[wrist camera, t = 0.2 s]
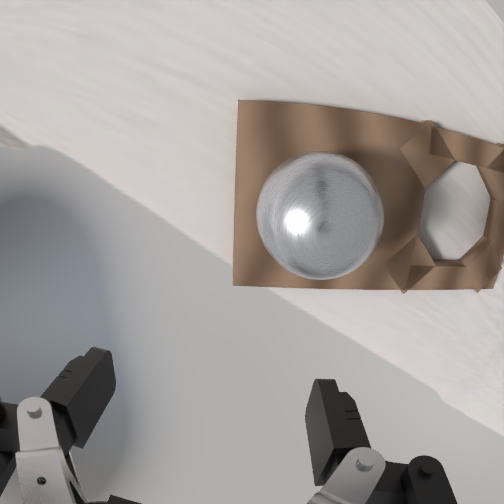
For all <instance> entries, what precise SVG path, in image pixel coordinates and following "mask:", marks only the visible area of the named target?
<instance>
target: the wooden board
mask: <svg viewBox="0 0 504 504" xmlns="http://www.w3.org/2000/svg"><path fill="white" fill-rule="evenodd" d="M308 151H330V152H335V153H339V154H342V155H344V156H346V157H348V158H350V159H352V160H354V161H355V162H357V163H358V164H360V165H361V166H362V167H363V168H364V169H365V170H366V171H367V172H368V173H369V175H370V176H371V177H372V178H373V180H374V182H375V183H376V185H377V187H378V189H379V191H380V194H381V197H382V201H383V206H384V227H383V231H382V235H381V238H380V240H379V243H378V245H377V247H376V249H375V250H374V252H373V253H372V255H371V256H370V257H369V258H368V259H367V261H366V262H364V263H363V264H362V265H361V266H360V267H358V268H357V269H356V270H354V271H352V272H351V273H349V274H346V275H344V276H341V277H338V278H334V279H326V280H317V279H309V278H304V277H301V276H298V275H296V274H294V273H292V272H290V271H288V270H286V269H285V268H284V267H282V266H281V265H280V264H279V263H277V262H276V261H275V260H274V259H273V257H272V256H271V255H270V254H269V252H268V251H267V249H266V248H265V246H264V244H263V242H262V240H261V238H260V234H259V231H258V227H257V220H256V209H257V202H258V198H259V194H260V192H261V189H262V187H263V185H264V183H265V181H266V179H267V178H268V177H269V175H270V174H271V173H272V171H273V170H274V169H275V168H276V167H277V166H279V165H280V164H281V163H283V162H284V161H285V160H287V159H289V158H291V157H293V156H295V155H298V154H300V153H304V152H308ZM455 160H456V161H460V162H464V163H468V164H472V165H476V166H477V168H478V170H479V172H480V175H481V177H482V179H483V181H484V183H485V186H486V188H487V190H488V192H489V195H490V197H491V201H490V207H489V212H488V217H487V222H486V227H485V231H484V236H483V237H482V238H481V239H480V240H479V241H478V242H477V243H476V244H475V245H474V246H473V247H472V248H471V249H470V250H469V251H468V252H467V253H466V254H465V255H464V256H463V257H462V258H460V259H459V260H458V261H455V260H433V259H432V258H431V256H430V255H429V253H428V251H427V249H426V248H425V246H424V244H423V243H422V241H421V239H420V238H419V236H418V229H419V223H420V218H421V212H422V206H423V200H424V193H425V188H426V187H427V186H428V185H429V184H430V183H432V182H433V181H434V180H435V179H436V178H437V177H438V176H439V175H440V174H441V173H442V172H443V171H444V170H445V169H447V168H448V167H449V166H450V165H451V164H452V163H453V162H454V161H455ZM503 254H504V144H500V143H497V144H496V145H495V144H492V143H489V142H486V141H483V140H480V139H477V138H473V137H470V136H467V135H464V134H460V133H457V132H453V131H450V130H446V129H442V128H439V127H436V126H435V125H434V123H433V122H432V121H421V122H420V123H419V122H414V121H410V120H405V119H401V118H396V117H391V116H386V115H380V114H375V113H369V112H363V111H357V110H350V109H343V108H336V107H328V106H320V105H310V104H300V103H288V102H273V101H254V100H238V120H237V146H236V175H235V209H234V249H233V285H234V286H258V287H282V288H314V289H363V290H401V292H402V293H403V294H404V293H405V292H407V291H408V290H456V289H474V290H475V291H476V292H477V293H478V292H479V291H480V290H481V289H493V287H494V284H495V281H496V278H497V275H498V272H499V271H500V270H501V269H502V267H501V261H502V258H503Z"/></svg>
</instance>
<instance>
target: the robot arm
mask: <svg viewBox="0 0 504 504" xmlns="http://www.w3.org/2000/svg"><path fill="white" fill-rule="evenodd" d="M115 387H116V379H115V373H114V366H113V360H112V354H111V352H110V351H108V350H104V349H99V348H96V347H92V348H91V349H90V350H89V351H88V352H87V353H86V355H85V356H84V357H83V356H79V357H77V358H75V359H73V360H71V361H70V362H69V363H68V364H67V366H66V367H65V368H64V370H63V371H62V372H61V373H60V374H59V376H58V377H56V379H55V380H54V381H53V382H52V383H51V385H50V386H49V387H48V388H47V390H46V391H45V392H44V393H43V394H42V396H41V397H30V398H27V399H25V400H23V401H22V402H21V403H20V404H19V405H16V404H10V403H3V402H2V400H1V398H0V496H1V494H2V492H3V490H4V488H5V487H6V485H7V483H8V480H9V479H10V477H11V476H12V474H13V472H14V470H15V468H16V467H17V471H18V478H19V483H20V489H21V493H22V499H23V503H24V504H141V503H137V502H133V501H130V500H126V499H123V498H120V497H116V496H113V495H110V497H109V500H108V502H105V501H96V502H88V500H87V498H86V497H85V495H84V492H83V490H82V487H81V485H80V481H79V478H78V476H77V472H76V469H75V467H74V463H73V460H72V456H71V453H70V449H71V447H72V445H74V446H77V447H79V448H83V447H84V445H85V443H86V442H87V440H88V438H89V436H90V435H91V433H92V431H93V429H94V427H95V426H96V424H97V422H98V420H99V419H100V417H101V415H102V413H103V411H104V410H105V408H106V406H107V404H108V403H109V401H110V399H111V397H112V396H113V394H114V391H115ZM305 421H306V428H307V434H308V441H309V448H310V454H311V461H312V468H313V475H314V483H315V486H323V487H322V488H321V490H320V491H319V492H318V493H316V494H315V495H314V496H313V497H312V498H311V499H310V500H309V501H308V503H307V504H457V501H456V499H455V496H454V494H453V491H452V488H451V486H450V484H449V481H448V478H447V476H446V474H445V471H444V469H443V466H442V465H441V463H440V462H439V461H438V460H437V459H435V458H433V457H430V456H418V457H415V458H414V459H412V460H411V462H410V463H409V464H401V463H393V462H388V461H385V459H384V458H383V456H382V455H381V454H380V453H379V452H378V451H376V450H374V449H371V446H370V443H369V440H368V437H367V434H366V431H365V429H364V426H363V423H362V420H361V417H360V414H359V412H358V409H357V406H356V403H355V400H354V399H353V398H352V397H351V396H350V395H349V394H348V393H347V392H339V390H338V387H337V384H336V381H335V380H334V379H315V381H314V383H313V387H312V390H311V394H310V397H309V401H308V404H307V407H306V414H305Z"/></svg>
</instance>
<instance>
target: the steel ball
mask: <svg viewBox="0 0 504 504" xmlns="http://www.w3.org/2000/svg"><path fill="white" fill-rule="evenodd" d="M256 220H257V227H258V231H259V234H260V238H261V240H262V242H263V244H264V246H265V248H266V249H267V251H268V252H269V254H270V255H271V256H272V257H273V259H274V260H275V261H276V262H277V263H279V264H280V265H281V266H282V267H284V268H285V269H286V270H288V271H290V272H292V273H294V274H296V275H298V276H301V277H304V278H309V279H317V280H326V279H334V278H338V277H341V276H344V275H346V274H349V273H351V272H352V271H354V270H356V269H357V268H358V267H360V266H361V265H362V264H363V263H364V262H366V261H367V259H368V258H369V257H370V256H371V255H372V253H373V252H374V250H375V249H376V247H377V245H378V243H379V240H380V238H381V235H382V231H383V227H384V206H383V201H382V197H381V194H380V191H379V189H378V187H377V185H376V183H375V182H374V180H373V178H372V177H371V176H370V175H369V173H368V172H367V171H366V170H365V169H364V168H363V167H362V166H361V165H360V164H358V163H357V162H355V161H354V160H352V159H350V158H348V157H346V156H344V155H342V154H339V153H335V152H330V151H308V152H304V153H300V154H298V155H295V156H293V157H291V158H289V159H287V160H285V161H284V162H283V163H281V164H280V165H279V166H277V167H276V168H275V169H274V170H273V171H272V173H271V174H270V175H269V177H268V178H267V179H266V181H265V183H264V185H263V187H262V189H261V192H260V194H259V198H258V202H257V209H256Z"/></svg>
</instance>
